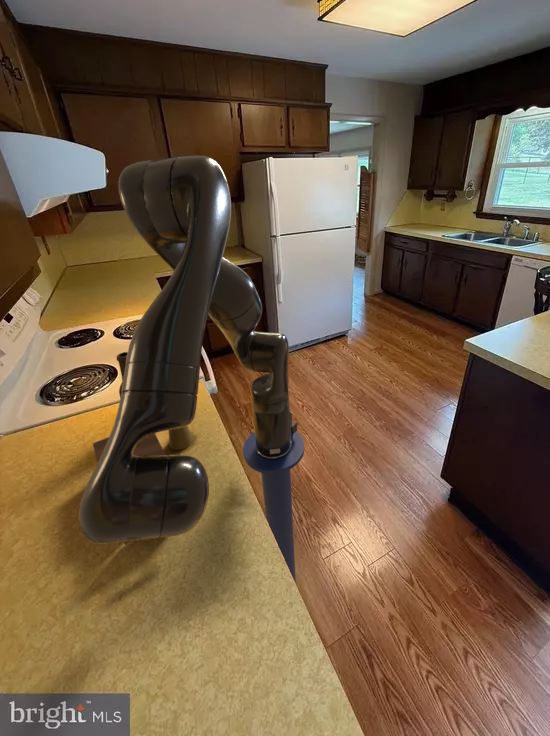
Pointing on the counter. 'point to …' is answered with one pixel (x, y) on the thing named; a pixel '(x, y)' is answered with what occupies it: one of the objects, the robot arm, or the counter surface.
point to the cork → (180, 438)
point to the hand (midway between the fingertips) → (144, 494)
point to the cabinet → (143, 448)
